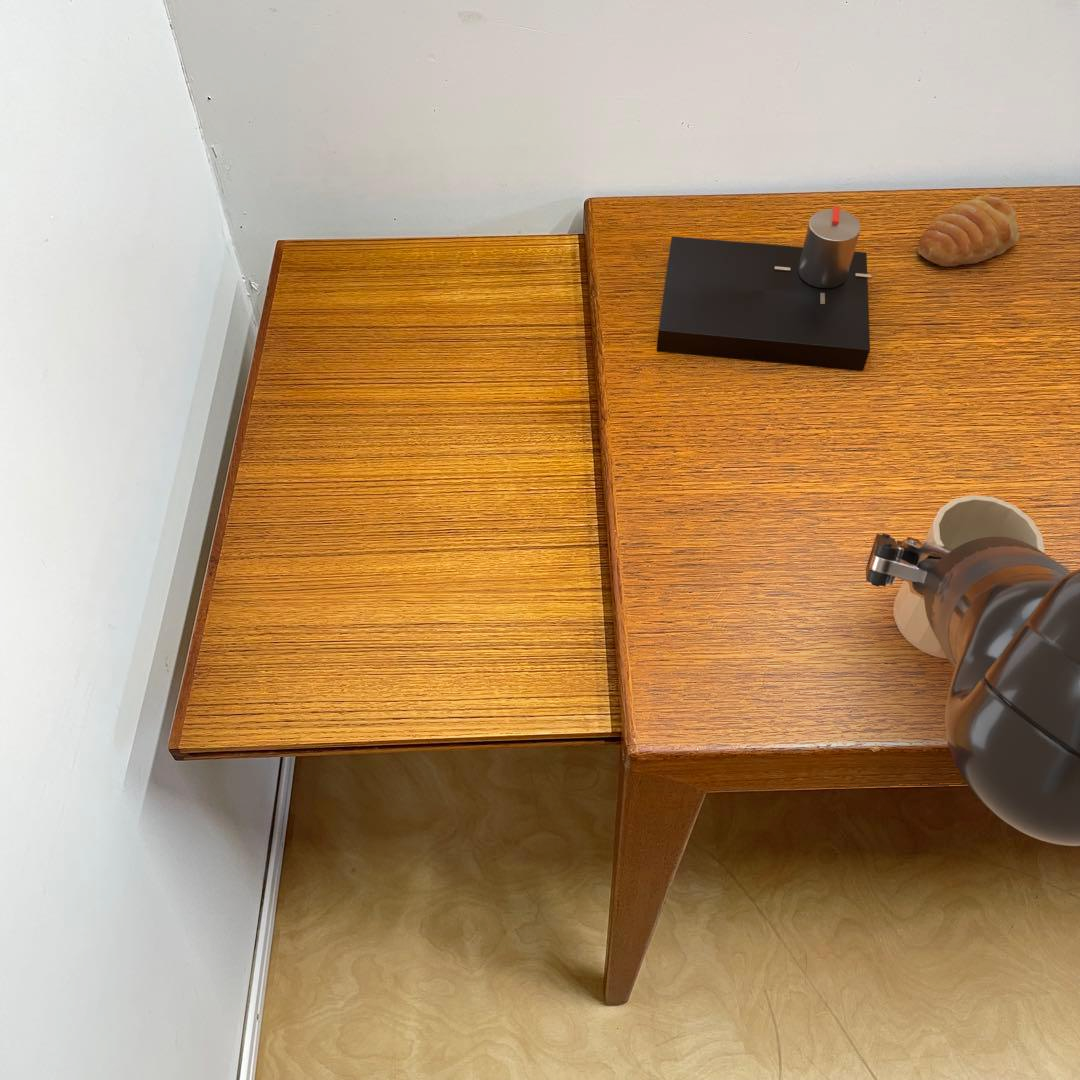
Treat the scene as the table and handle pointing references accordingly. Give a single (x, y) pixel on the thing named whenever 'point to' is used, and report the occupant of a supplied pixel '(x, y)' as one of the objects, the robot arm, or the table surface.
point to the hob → (761, 306)
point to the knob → (829, 248)
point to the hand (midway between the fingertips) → (963, 567)
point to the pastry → (970, 232)
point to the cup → (952, 530)
